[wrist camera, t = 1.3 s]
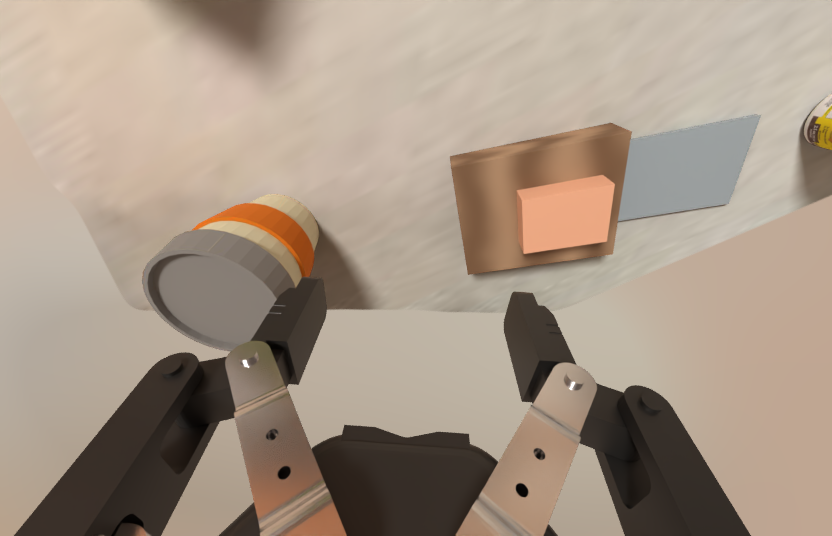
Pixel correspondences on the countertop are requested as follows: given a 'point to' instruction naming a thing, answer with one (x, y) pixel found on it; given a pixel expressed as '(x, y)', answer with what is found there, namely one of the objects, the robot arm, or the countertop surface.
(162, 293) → the reusable coffee cup
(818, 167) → the countertop surface
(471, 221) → the block
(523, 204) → the salmon foam block
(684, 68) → the countertop surface
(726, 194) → the mat
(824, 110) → the supplement bottle
